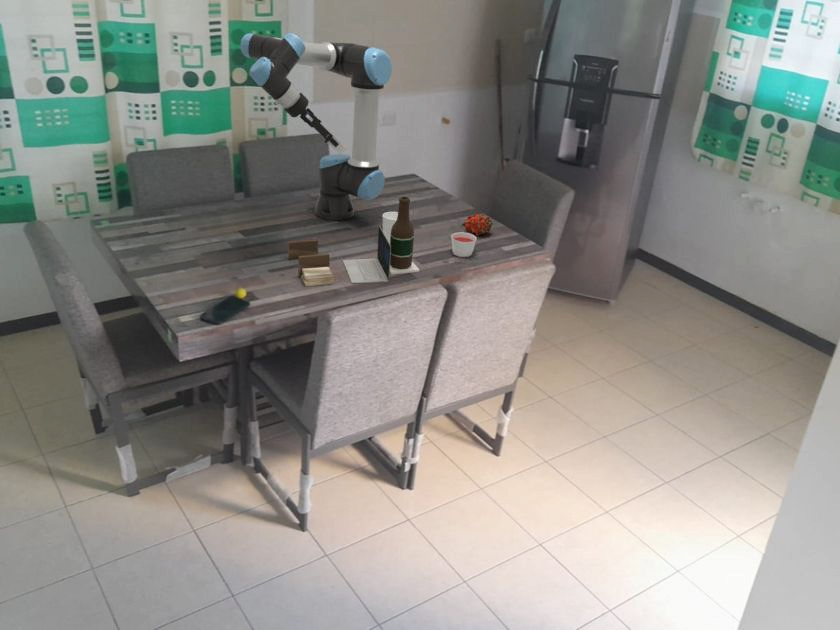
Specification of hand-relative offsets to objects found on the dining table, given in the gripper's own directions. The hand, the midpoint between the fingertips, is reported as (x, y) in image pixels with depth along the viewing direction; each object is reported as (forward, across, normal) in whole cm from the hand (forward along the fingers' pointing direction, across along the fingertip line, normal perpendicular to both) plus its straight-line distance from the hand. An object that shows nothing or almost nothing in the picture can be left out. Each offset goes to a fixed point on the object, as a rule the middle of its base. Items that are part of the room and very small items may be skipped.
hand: (337, 145), depth 259 cm
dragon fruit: (+67, -4, +13) cm, 68 cm away
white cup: (+43, -4, -11) cm, 44 cm away
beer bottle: (+39, +18, -14) cm, 45 cm away
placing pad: (+39, +18, -14) cm, 45 cm away
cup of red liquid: (+58, +12, +4) cm, 59 cm away
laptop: (+31, +19, -23) cm, 43 cm away
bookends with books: (+18, +14, -35) cm, 42 cm away
